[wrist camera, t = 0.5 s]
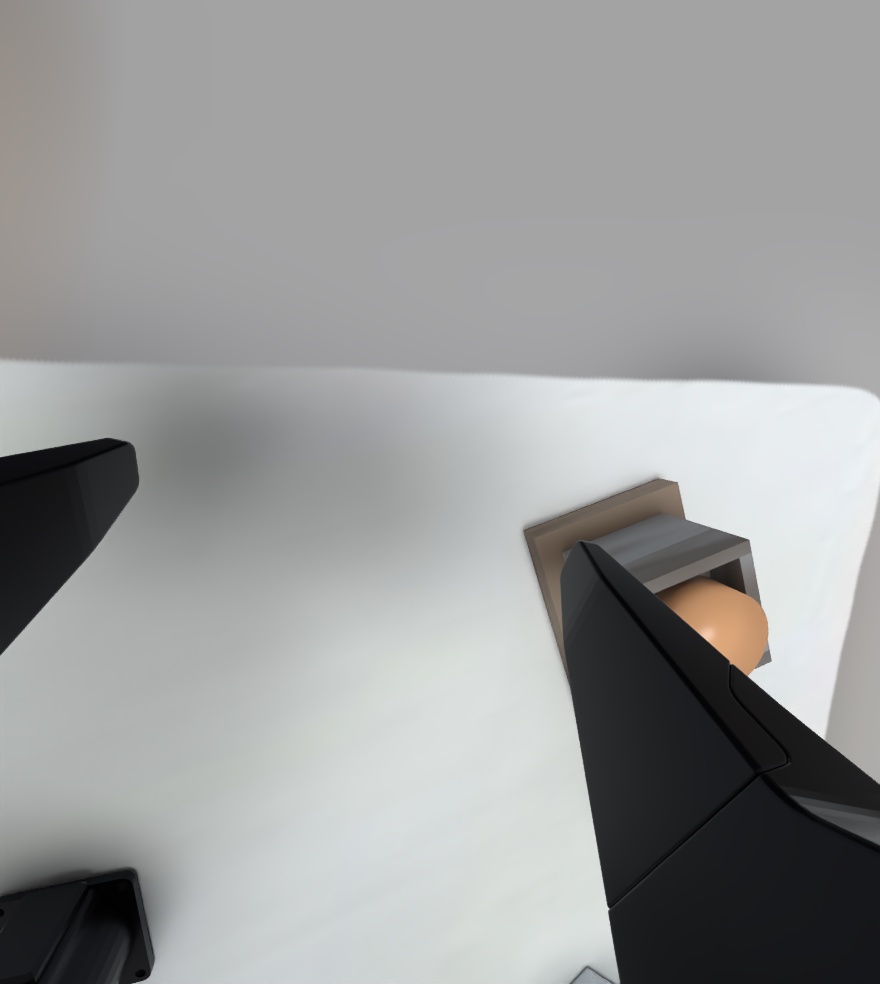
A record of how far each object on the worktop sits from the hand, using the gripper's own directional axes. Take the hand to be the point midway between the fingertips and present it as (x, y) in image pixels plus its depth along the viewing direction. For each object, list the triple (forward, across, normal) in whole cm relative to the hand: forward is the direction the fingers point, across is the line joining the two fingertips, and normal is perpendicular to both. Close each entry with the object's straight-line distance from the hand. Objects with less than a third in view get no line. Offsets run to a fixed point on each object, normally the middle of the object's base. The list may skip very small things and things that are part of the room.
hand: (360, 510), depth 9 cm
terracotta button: (+7, -14, +7) cm, 17 cm away
